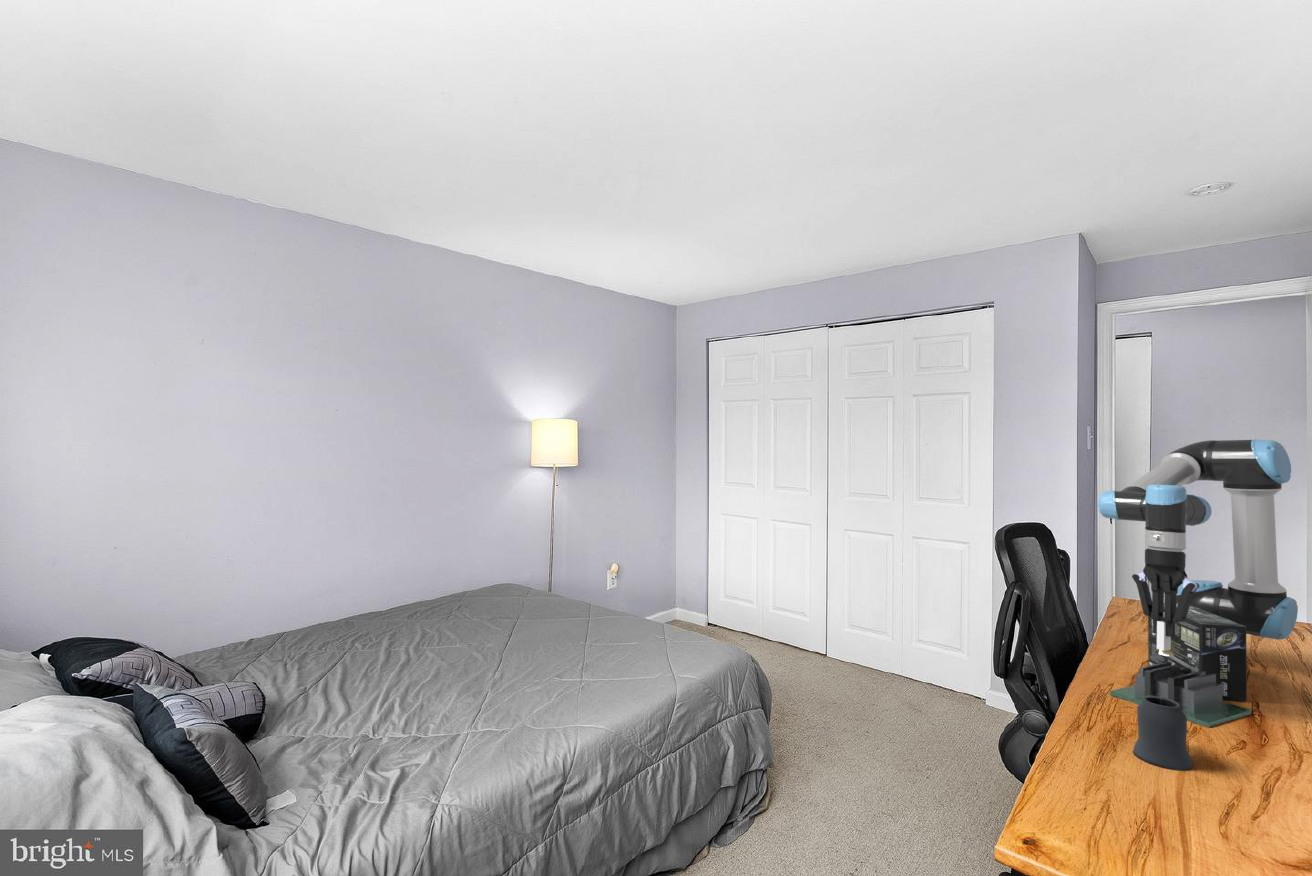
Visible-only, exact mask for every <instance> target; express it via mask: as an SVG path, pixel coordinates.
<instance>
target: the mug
mask: <svg viewBox="0 0 1312 876" xmlns="http://www.w3.org/2000/svg"><path fill="white" fill-rule="evenodd" d="M1136 711H1137V712H1136V714H1137V717H1136V721H1137V727H1138V728H1137V732H1138V733H1137V734H1138V735H1137V736H1138V737H1137V740H1136V741H1135V743H1134V746H1133V751H1132V753H1133V755H1134V756H1135V757H1136V758H1137V759H1139V760H1141V761H1142V762H1144V763H1147V764H1149V765H1151V766H1153V767H1158V768H1161V769H1165V770H1171V771H1178V772H1186V771H1190V770H1193V767H1194V765H1193V762H1192V758H1191V755H1190V753H1189V752H1188V749H1187V733H1188V723H1187V722H1188V721H1187V717H1186V716H1185V714H1184V713H1183V711H1182V710H1181V706H1180V704H1179V703H1177V702H1176V701H1173V700H1171V699H1167V698H1163V697H1158V696H1144V698H1143V700H1142V702H1141V703H1140V704H1138V705H1137V707H1136Z"/></svg>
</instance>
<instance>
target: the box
mask: <svg viewBox="0 0 1312 876" xmlns="http://www.w3.org/2000/svg"><path fill="white" fill-rule="evenodd" d="M1177 606H1178V603H1176V609H1177ZM1164 618H1165V602H1164ZM1164 620H1165V619H1164ZM1147 621H1148V622H1147V627H1148V630H1147V632H1148V633H1147V636H1148V637H1147V638H1148V641H1147V646H1148V647H1147V649H1148V653H1147V654H1148V655H1147V656H1148V659H1147V660H1148V661H1147V664H1148V665H1147V666H1150V665H1155V664H1159V663H1164V662H1171V661H1170V660H1168V659H1166V658H1165V657H1163V656H1161V655H1159V649H1157V634H1155V633H1154V632H1153V619H1152V618H1151V617H1149V616H1147ZM1162 621H1163V620H1162ZM1169 651H1171V652H1173V653H1174V656H1175V657H1176V658H1178V659H1180V660H1181V661H1183V662H1185V663H1186V664H1188V665H1190V666H1192V667H1193V668H1195V669H1197V670H1198V671H1202V670H1203V671H1206V674H1211V673H1214V674H1216V683H1220V684H1222V697H1223V702H1225V701H1226V702H1240V703H1247V694H1248V693H1247V691H1248V690H1247V688H1248V687H1247V686H1248V685H1247V684H1248V683H1247V682H1248V681H1247V680H1248V679H1247V676H1248V674H1247V673H1248V669H1247V665H1248V664H1247V663H1248V662H1247V661H1248V660H1247V656H1248V655H1247V652H1248V651H1247V634H1246V626H1244V625H1241V624H1239V623H1236V622H1234V621H1231V620H1229V619H1226V618H1223V617H1221V616H1218V615H1215V614H1213V613H1210V612H1207V611H1205V610H1202V609H1199V608H1197V607H1194V606H1192V605H1190V607H1189V610H1188V613H1187V616H1186V620H1185V621H1184V622H1177V623H1175V636H1174V637H1171V650H1169ZM1171 665H1176V664H1175V663H1173V662H1171ZM1181 669H1183V668H1182V667H1181Z"/></svg>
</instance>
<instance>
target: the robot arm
mask: <svg viewBox="0 0 1312 876" xmlns="http://www.w3.org/2000/svg"><path fill="white" fill-rule="evenodd" d="M1290 460H1291V459H1290V457H1289V454H1288V452H1287V450H1286V449H1285V447H1284V446H1283V445H1282V444H1281V443H1279V442H1278V441H1276V440H1273V439H1272V440H1270V439H1255V438H1254V439H1232V440H1231V439H1230V440H1229V439H1228V440H1227V439H1226V440H1225V439H1224V440H1216V439H1215V440H1213V439H1212V440H1202V441H1199V442H1193V443H1191V444H1190V443H1189V444H1186V445H1184V446H1181V447H1180V448H1178V449H1175V450H1173V451H1172V452H1169V453H1168V454H1166V455H1165V456H1163V458H1162V459H1161V460H1160V463H1159V464H1158V465H1157V466H1156V467H1153V469H1151V470H1150V471H1148V472H1146V473H1145V474H1144V475H1142V476H1141V477H1139V478H1138V479H1136V480H1135V481H1134V482H1131V484H1129V485H1128V486H1126V487H1125V488H1123V489H1122V490H1119V491H1117V490H1105V491H1103V492H1101V494H1100V495H1099V497H1098V502H1097V506H1098V510H1099V513H1100V515H1101V516H1102V517H1103V518H1106V519H1112V520H1117V521H1120V520H1121V521H1131V522H1133V521H1134V522H1145V527H1144V529H1145V530H1144V531H1145V532H1144V533H1145V534H1144V535H1145V536H1144V539H1145V540H1144V545H1145V546H1146V547H1148V548H1145V549H1144V563H1145V565H1144V567H1143V570H1142V571H1141V572H1139V573H1137V574H1136V573H1133V574H1132V575H1131V578H1132V579H1133V581H1134V582H1135V584H1136V587H1137V588H1136V589H1137V591H1138V596H1139V600H1140V604H1141V609H1142V613H1143V615H1145V617H1148V616H1149V617H1151V618H1152V619H1153V632H1154V633H1155V634H1157V649H1159V650H1163V651H1165V650H1171V637H1174V636H1175V623H1177V622H1184V621H1185V620H1186V616H1187V613H1188V610H1189V607H1190V605H1192V606H1194V607H1197V608H1199V609H1202V610H1205V611H1207V612H1210V613H1213V614H1215V615H1218V616H1221V617H1223V618H1226V619H1229V620H1231V621H1234V622H1236V623H1239V624H1241V625H1244V626H1246V635H1251V636H1256V637H1260V638H1262V639H1264V638H1267V639H1273V640H1284V639H1287V638H1288V637H1289V636H1290V635H1291V633H1292V632H1293V631H1294V628H1295V626H1296V623H1297V620H1298V619H1297V618H1298V613H1299V612H1298V609H1299V607H1298V604H1297V601H1296V599H1295V598H1292V597H1289V596H1288V594H1287V588H1285V587H1284V586H1283V585H1281V584H1280V583H1279V576H1278V575H1279V573H1278V556H1277V555H1278V554H1277V549H1278V548H1277V531H1276V510H1275V507H1276V506H1275V495H1276V494H1277V493H1279V492H1280V491H1281V490H1282V486H1283V484H1286V483H1288V482H1289V481H1290V480H1291V477H1292V465H1291V461H1290ZM1196 481H1213V482H1222V488H1223V489H1224V490H1225V491H1226V492H1227V493H1229V494H1230V500H1231V521H1232V545H1233V563H1234V565H1233V566H1234V568H1233V569H1234V578H1233V580H1231V581H1230V582H1229V583H1227V588H1225V587H1223V586H1224V585H1223V584H1222V582H1221V581H1216V580H1206V579H1205V580H1201V579H1196V580H1195V579H1189V578H1188V575H1187V572H1186V557H1187V555H1186V553H1185V552H1184V551H1185V550H1186V548H1187V547H1186V544H1187V543H1186V539H1187V538H1186V536H1187V534H1186V532H1187V530H1186V528H1187V526H1190V527H1195V526H1198V525H1199V526H1200V525H1202V524H1205V523H1206V522H1207V521H1208V520H1210V518H1211V515H1212V512H1213V511H1212V506H1211V505H1210V503H1209V501H1207V500H1206V499H1204V498H1203V497H1201V496H1198V495H1195V494H1187V489H1186V487H1185V486H1183V485H1190V484H1192V483H1194V482H1196ZM1148 581H1149V583H1150V585H1151V591H1152V594H1151V592H1150V587H1149V584H1148ZM1164 603H1165V618H1164ZM1176 603H1178V606H1177V609H1176ZM1164 619H1165V620H1164ZM1162 620H1163V621H1162Z"/></svg>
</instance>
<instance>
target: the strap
mask: <svg viewBox="0 0 1312 876" xmlns="http://www.w3.org/2000/svg"><path fill="white" fill-rule="evenodd" d="M1159 655H1161V656H1163V657H1165V658H1166V659H1168V660H1170V661H1171V662H1173V663H1175V664H1177V665H1178V666H1180V667H1182V668H1183V669H1185V670H1187V671H1188V672H1189V673H1194V672H1198V670H1197V669H1195V668H1193V667H1192V666H1190V665H1188V664H1186V663H1185V662H1183V661H1181V660H1180V659H1178V658H1176V657H1175V656H1174V653H1173V652H1171V651H1169V650H1165V651H1163V650H1159Z"/></svg>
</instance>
